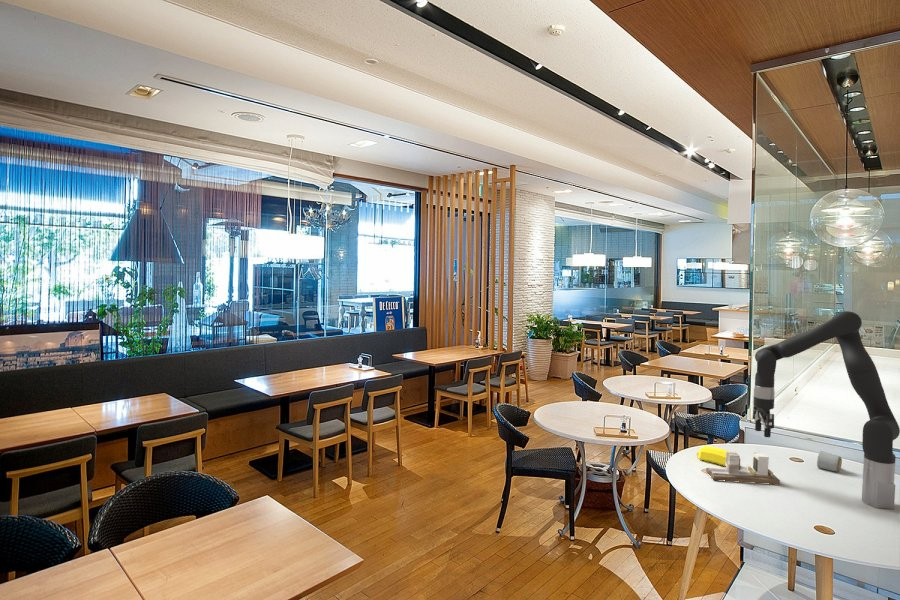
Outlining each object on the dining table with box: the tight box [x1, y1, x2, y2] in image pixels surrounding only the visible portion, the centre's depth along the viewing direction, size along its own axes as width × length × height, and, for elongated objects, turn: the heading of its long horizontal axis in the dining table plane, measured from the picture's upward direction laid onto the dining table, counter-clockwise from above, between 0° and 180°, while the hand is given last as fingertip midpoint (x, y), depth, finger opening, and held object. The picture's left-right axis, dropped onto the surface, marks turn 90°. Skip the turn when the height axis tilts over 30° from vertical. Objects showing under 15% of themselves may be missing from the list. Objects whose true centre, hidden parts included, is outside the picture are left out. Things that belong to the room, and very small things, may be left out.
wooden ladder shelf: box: [705, 451, 781, 485], centre depth 220 cm, size 9×26×11 cm, turn 81°
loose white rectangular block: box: [752, 452, 769, 476], centre depth 219 cm, size 4×4×8 cm
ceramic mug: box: [816, 450, 843, 473], centre depth 232 cm, size 11×8×8 cm
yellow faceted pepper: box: [696, 445, 731, 467], centre depth 238 cm, size 18×7×8 cm
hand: (762, 433), depth 218 cm, fingers open, 8 cm apart
